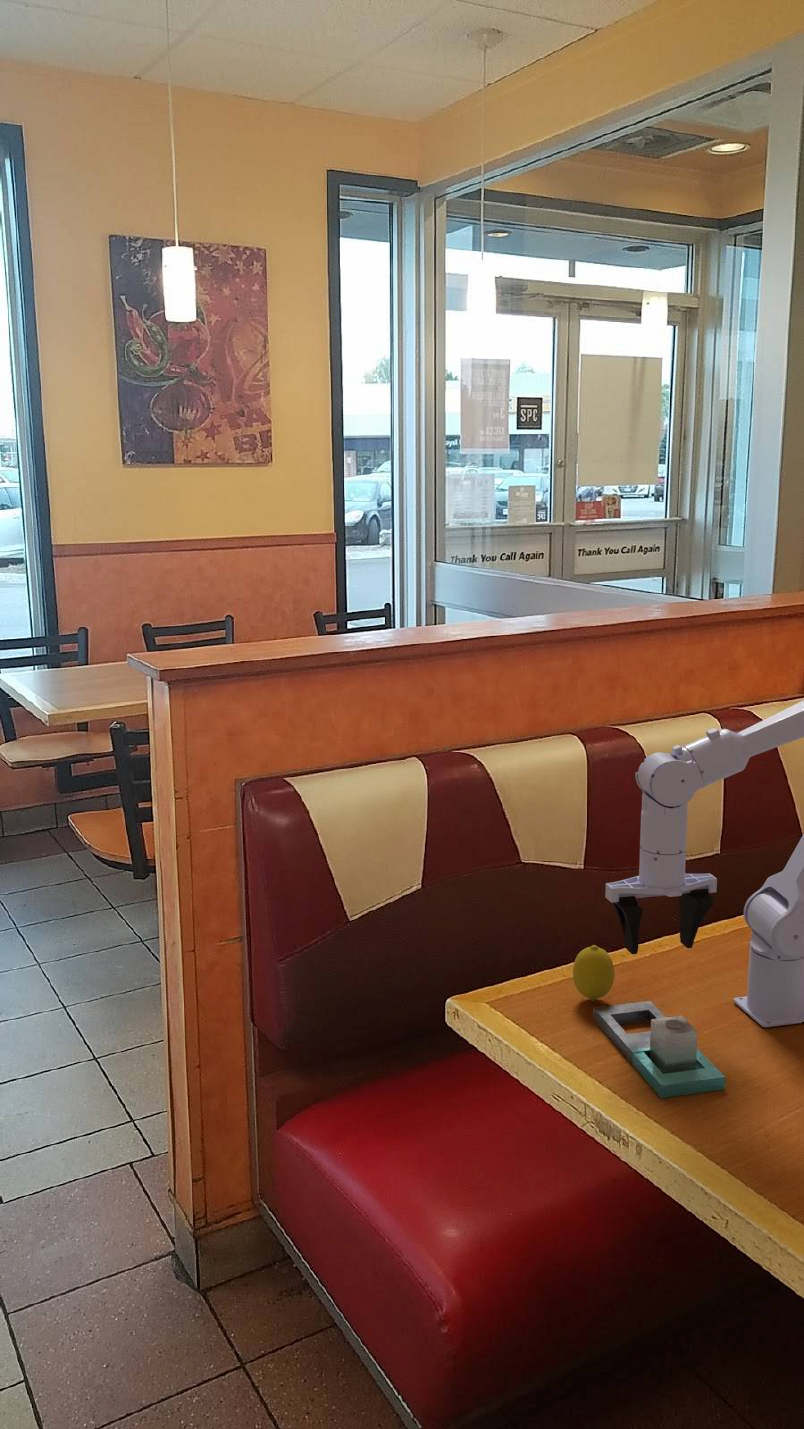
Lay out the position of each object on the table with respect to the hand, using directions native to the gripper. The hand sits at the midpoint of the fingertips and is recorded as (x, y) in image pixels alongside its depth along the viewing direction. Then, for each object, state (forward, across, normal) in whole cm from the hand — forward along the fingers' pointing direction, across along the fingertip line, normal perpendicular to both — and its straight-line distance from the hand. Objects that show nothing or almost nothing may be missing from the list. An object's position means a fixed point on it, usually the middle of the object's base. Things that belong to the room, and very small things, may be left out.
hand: (659, 948), depth 146 cm
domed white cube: (+10, -4, -13) cm, 17 cm away
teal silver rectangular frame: (+10, -4, -8) cm, 13 cm away
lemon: (+10, -6, +7) cm, 14 cm away
